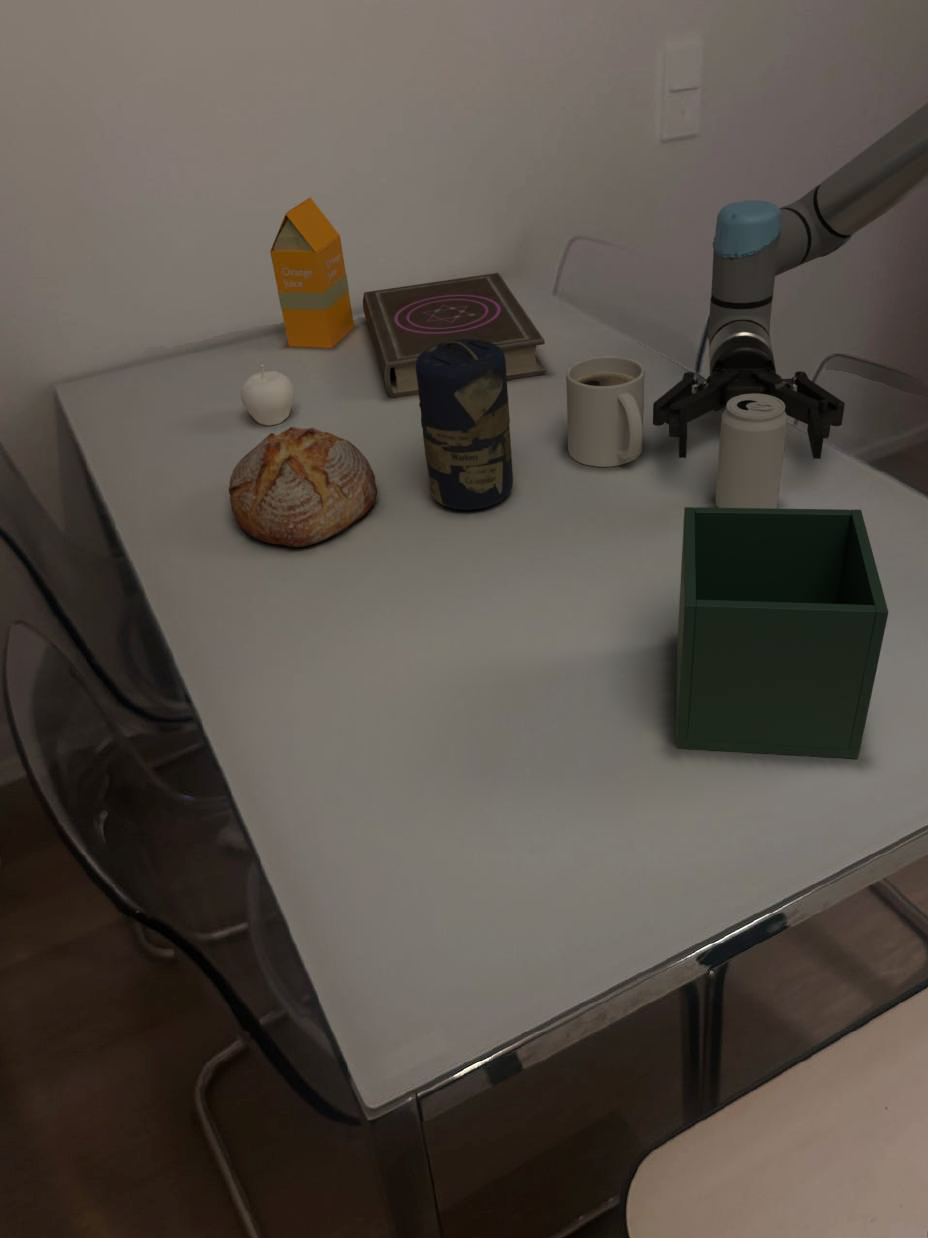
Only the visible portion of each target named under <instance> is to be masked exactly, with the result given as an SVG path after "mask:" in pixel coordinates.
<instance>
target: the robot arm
mask: <svg viewBox="0 0 928 1238" xmlns="http://www.w3.org/2000/svg"><path fill="white" fill-rule="evenodd" d="M927 186H928V102H926V103H925V104H923V105H922V106H921V107H920V108H918V110H916V111H915V112H913V113H912V114H911V115H909V116H908V117H906V118H905V119H904V120H902V122H900V123H898V125H896V126H894V127H893V128H892V129H891V130H889V131H888V132H887V133H885V134H884V135H883V136H881V137H880V138H879V139H877V140H876V141H875V142H873V143H872V144H871V145H869V146H868V147H867V148H865V149H864V150H863V151H862V152H860V153H859V154H857V155H856V156H854V157H853V158H852V159H851V160H849V161H848V162H846V163H845V164H844V165H843V166H842V167H840V168H839V169H838V170H836V171H834V173H832V174H831V175H830V176H828V177H826V178H825V179H824V180H823V181H821V183H819V184H817V185H816V186H815V187H813V188H812V189H811V190H810V191H808V192H807V193H806V194H804V195H803V196H801V197H800V198H799V199H797V200H795V201H793V202H792V203H790V204H787V205H784V206H782V207H779V206H778V205H776V204H775V203H773V202H770V201H765V200H755V199H754V200H742V201H735V202H731V203H728V204H726V205H725V206H723V207H722V208H721V209H720V210H719V211H718V214H717V216H716V223H715V224H716V225H715V231H714V232H715V233H714V237H713V241H712V248H713V253H712V275H711V289H710V290H711V291H710V292H711V293H710V300H709V302H710V303H709V315H708V318H707V328H706V336H707V339H708V347H709V348H708V355H709V356H708V359H709V361H708V362H709V375H708V376H707V378H699V377H697V376H695V373H694V372H693V371H686V372H684V373H683V376H682V379H681V380H680V381H679V382H677V383H676V384H675V385H674V386H673V387H671V388H670V389H669V390H668V391H667V392H665V393H664V394H663V395H662V396H660V397H659V398H658V399H656V400H655V401H654V402H653V403H652V425H653V426H656V427H660V426H663V425H664V424H666V425H668V437H669V438H671V439H672V438H673V439H675V438H676V439H677V438H678V458H679V459H687V443H688V423H691V422H693V421H695V420H697V419H698V418H701V417H702V416H704V415H706V414H708V413H711V412H716V413H717V412H720V411H722V410H723V409H726V406H727V402H728V401H729V400H730V399H732V398H734V397H736V396H739V395H743V394H766V395H770V396H774V397H776V398H778V399H780V400H782V401H783V402H784V404H785V412H786V414H787V417H790V418H792V419H795V420H797V421H799V422H801V423H804V424H805V425H807V428H806V429H807V430H806V431H807V437H808V441H809V446H810V451H811V457H812V459H813V460H821V459H822V451H823V444H824V439H829V438H830V432H831V426H833V427H841V426H842V425H843V419H844V413H845V406H846V403H845V402H844V401H843V400H842V399H840V398H838V397H837V396H835V395H834V394H832V393H830V392H829V391H828V390H826V389H825V388H823V387H822V386H820V385H819V384H818V383H816V382H814V381H813V380H811V379H809V376H808V375H807V373H806V372H805V371H800V370H799V371H795V372H794V376H792V377H791V378H782V376H781V375H780V374H778V373H777V369H776V362H775V358H774V351H773V347H772V340H771V333H770V328H771V317H772V307H773V300H774V291H775V290H774V288H775V283H776V282H775V280H776V277H777V276H779V275H782V274H784V273H786V272H788V271H791V270H793V269H795V268H797V267H799V266H801V265H802V266H803V265H804V264H806V263H809V262H811V261H814V260H816V259H818V258H824V257H826V256H828V255H830V254H832V253H834V252H835V251H837V250H839V249H840V248H841V247H843V246H844V245H846V244H847V243H848V242H849V241H850V239H851V238H852V237H853V235H855V234H856V233H858V232H859V231H860V230H862V229H864V228H865V227H867V226H868V225H870V224H871V223H873V222H875V221H876V220H877V219H879V218H881V217H882V216H883V215H885V214H886V213H888V212H889V211H891V210H892V209H894V208H895V207H897V206H899V205H900V204H902V203H903V202H905V201H906V200H908V199H909V198H911V197H912V196H913V195H915V194H917V193H918V192H920V191H921V190H922V189H924V188H926V187H927Z"/></svg>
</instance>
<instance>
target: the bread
mask: <svg viewBox="0 0 928 1238" xmlns="http://www.w3.org/2000/svg"><path fill="white" fill-rule="evenodd" d="M228 494H229V502H230V506H231V512H232V514H233V516H234V519H235V521H236V523H237V524H238V526H239V527H240V528H242V529H243V531H244V532H245V533H246V534H248V536H251V537H252V538H254V539H256V540H258V541H261V542H263V543H267V544H272V545H278V546H281V545H283V546H287V547H291V548H303V547H306V546H311V545H315V544H317V543H320V542H322V541H325V540H327V539H329V538H332V537H333V536H335V535H338V534H339V533H341V532H342V531H344V530H346V529H347V528H348V527H350V526H351V525H353V524H354V523H356V522H357V521H358V520H360V519H361V518H363V517H364V516H365V515H366V514H367V512H368V511H369V510H371V509H372V507H373V505H374V504H375V503H376V500H377V497H378V488H377V484H376V475H375V473H374V471H373V469H372V466H371V464H370V462H369V461H368V459H367V457H366V456H365V455H364V454H363V452H362V451H360V449H359V448H357V447H356V445H354V444H353V443H352V442H351V441H349V440H348V439H344V438H342V437H340V436H337V435H336V434H333V433H331V432H327V431H322V430H320V429H316V428H314V426H311V427H308V428H307V427H305V428H301V427H300V428H299V427H295V426H290V427H289V428H288V429H285V430H284V431H282V432H280V433H279V434H277V435H276V434H275V433H272V432H271V433H269V434H268V435H267V436H266V437H265V438H263V440H262V441H261V442H259V443H258V444H257V445H255V447H254V448H253V449H251V450H250V451H249V452H248V453H247V454H245V455H244V456H243V457H242V458H241V459H240V460H239V461H238V462H237V464H236V465H235V466H234V468H233V470H232V472H231V475H230V479H229V486H228Z"/></svg>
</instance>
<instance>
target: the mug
mask: <svg viewBox="0 0 928 1238" xmlns="http://www.w3.org/2000/svg"><path fill="white" fill-rule="evenodd" d="M645 373H646V372H645V368H644V366H643V365H642V364H641V363H640V362H639V361H636V360H634V359H631V358H628V357H624V356H618V355H617V356H616V355H603V356H594V357H589V358H585V359H582V360H578V361H576V362H575V363H573V364H571V365H570V366H569V367H568V369H567V370H566V373H565V376H566V377H565V379H566V380H565V381H566V382H565V384H566V420H567V421H566V422H567V425H566V426H567V452H568V454H569V456H570V457H571V458H572V460H574V461H576V462H578V463H580V464H582V465H586V466H590V467H597V468H599V467H600V468H608V467H609V468H610V467H618V466H622V465H625V464H629V463H631V462H633V461H635V460H636V459H638V458H639V457H640V455H642V452H643V450H644V449H643V448H644V413H645V376H646V375H645Z"/></svg>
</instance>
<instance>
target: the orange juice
mask: <svg viewBox="0 0 928 1238" xmlns="http://www.w3.org/2000/svg"><path fill="white" fill-rule="evenodd" d="M269 253H270V258H271V264H272V268H273V273H274V277H275V283H276V289H277V295H278V300H279V306H280V310H281V314H282V318H283V323H284V329H285V334H286V339H287V344H288V347H290V348H291V347H295V348H318V349H334V347H336V345H338V343H340V342H341V341H342V340H343V339H344V338H345V337H346V336H347V335H348V334H349V333H350V332H351V331H352V330H353V329H354V328H355V323H354V322H355V321H354V317H353V309H352V305H351V298H350V297H351V296H350V289H349V282H348V276H347V272H346V267H345V259H344V252H343V245H342V240H341V234H340V233H339V232H338V231H337V230H336V228H335V227H334V226H333V224H332V223H331V222H330V220H328V218H327V216H326V215H325V214H324V212H323V211H322V210H321V209H320V207H319V206H318V205H317V204H316V202H315V201H314V200H313V199H312V196H310V197H308V198H306V199H305V200H304V201H302V202H300V203H299V204H297V205H295V206H294V207H293V208H291V209H289V210H288V211H286V212H285V214H284V217H283V218H282V221H281V224H280V226H279V228H278V232H277V234H276V236H275V239H274V241H273V244H272V246H271V248H270V250H269Z"/></svg>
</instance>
